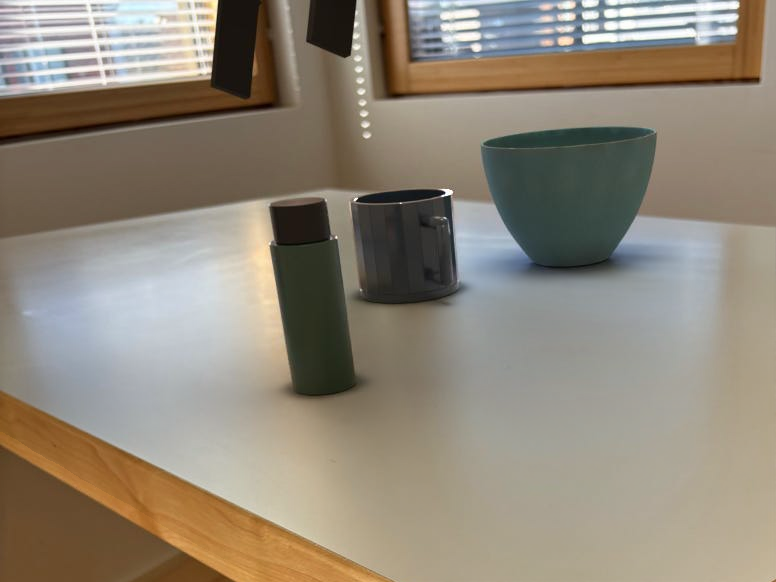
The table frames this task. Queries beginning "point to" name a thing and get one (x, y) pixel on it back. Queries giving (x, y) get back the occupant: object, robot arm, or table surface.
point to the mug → (405, 244)
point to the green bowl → (569, 189)
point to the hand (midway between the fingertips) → (275, 73)
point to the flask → (311, 296)
